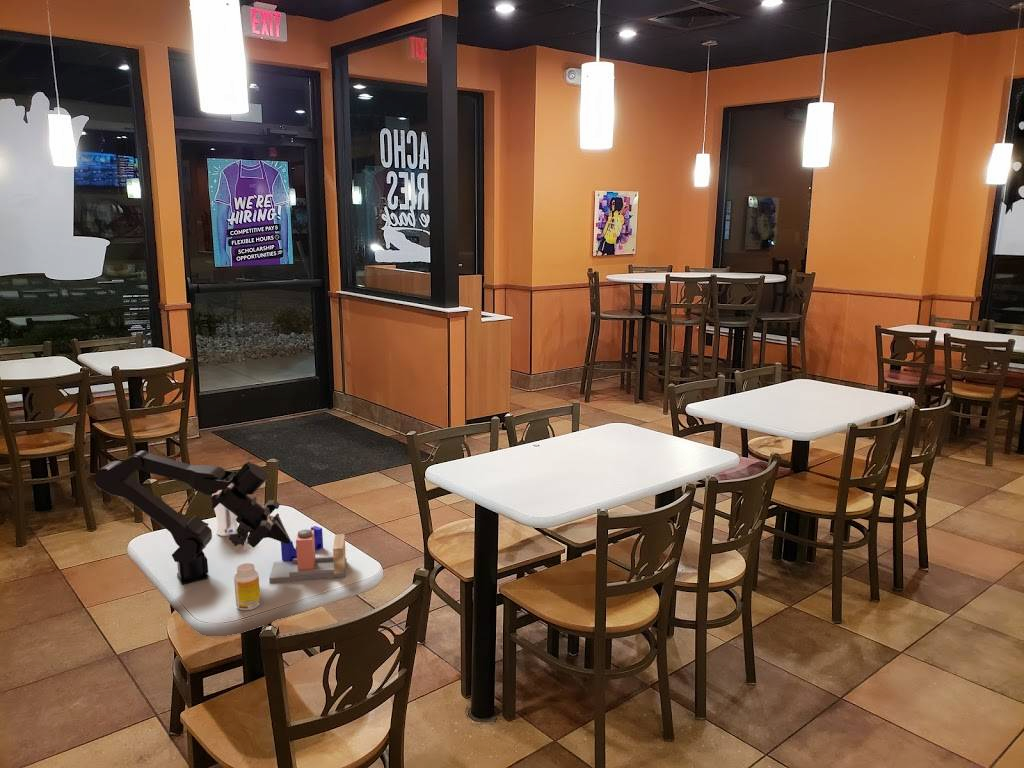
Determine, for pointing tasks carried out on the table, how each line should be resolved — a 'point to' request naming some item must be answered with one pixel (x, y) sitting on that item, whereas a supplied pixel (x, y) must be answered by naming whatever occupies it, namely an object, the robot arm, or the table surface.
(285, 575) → the socket board
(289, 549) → the blue curved piece
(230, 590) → the table surface
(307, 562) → the orange upright block
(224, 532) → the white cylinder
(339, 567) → the socket block
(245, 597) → the supplement bottle
